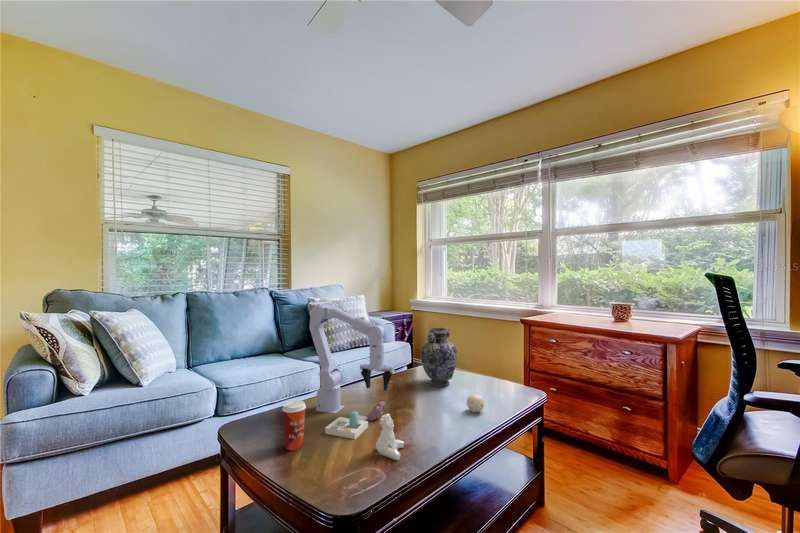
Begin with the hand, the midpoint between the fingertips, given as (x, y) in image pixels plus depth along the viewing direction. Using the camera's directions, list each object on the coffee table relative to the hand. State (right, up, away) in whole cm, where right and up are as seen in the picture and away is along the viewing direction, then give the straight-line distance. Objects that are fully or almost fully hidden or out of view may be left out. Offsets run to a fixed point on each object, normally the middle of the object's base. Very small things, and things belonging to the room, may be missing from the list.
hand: (376, 388), depth 142 cm
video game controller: (0, -11, -3) cm, 11 cm away
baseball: (+40, -10, +2) cm, 42 cm away
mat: (-7, -10, -6) cm, 14 cm away
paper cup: (-26, -10, -26) cm, 38 cm away
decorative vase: (+29, -11, +38) cm, 49 cm away
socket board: (-10, -10, -15) cm, 21 cm away
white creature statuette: (+6, -10, -30) cm, 32 cm away
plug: (-7, -10, -16) cm, 20 cm away
